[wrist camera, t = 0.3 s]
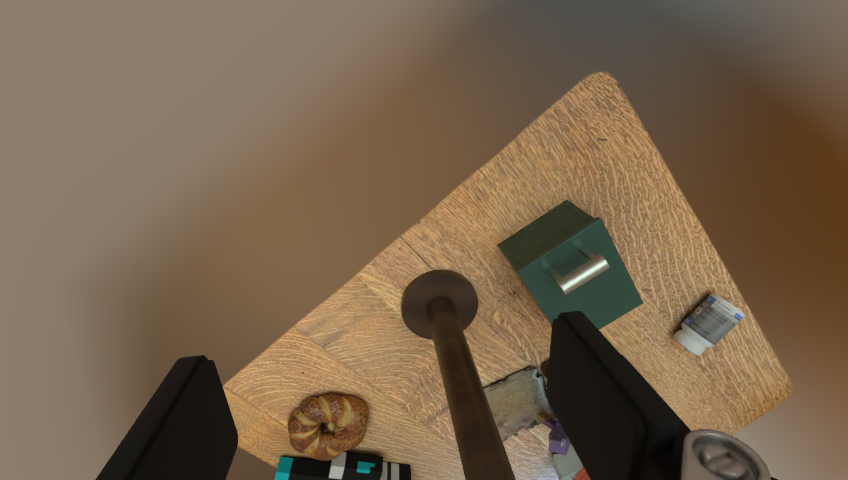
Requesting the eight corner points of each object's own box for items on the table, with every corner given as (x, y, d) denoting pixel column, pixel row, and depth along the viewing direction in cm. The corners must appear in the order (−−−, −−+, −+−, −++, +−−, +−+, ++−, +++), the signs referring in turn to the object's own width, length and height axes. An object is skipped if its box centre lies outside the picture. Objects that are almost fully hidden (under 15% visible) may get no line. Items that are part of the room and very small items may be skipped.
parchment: (537, 365, 57) (535, 360, 58) (457, 403, 58) (456, 398, 59) (562, 417, 62) (560, 411, 63) (489, 451, 63) (487, 446, 64)
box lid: (515, 269, 42) (532, 292, 38) (597, 216, 41) (625, 234, 37) (564, 344, 48) (585, 373, 43) (639, 299, 46) (668, 324, 42)
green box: (497, 244, 50) (518, 274, 43) (566, 199, 49) (600, 222, 42) (539, 308, 55) (564, 344, 48) (603, 269, 53) (639, 299, 46)
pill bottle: (710, 289, 55) (667, 333, 57) (745, 313, 52) (698, 358, 54) (714, 293, 59) (673, 335, 61) (747, 316, 56) (703, 358, 58)
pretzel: (348, 375, 55) (346, 395, 52) (384, 424, 59) (384, 445, 56) (273, 409, 56) (266, 431, 53) (314, 455, 60) (310, 478, 57)
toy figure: (530, 407, 55) (520, 444, 55) (592, 435, 51) (582, 476, 50) (549, 394, 65) (541, 425, 65) (602, 416, 61) (593, 450, 61)
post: (397, 274, 50) (425, 489, 24) (475, 265, 51) (581, 463, 25) (404, 338, 54) (435, 581, 28) (476, 329, 55) (568, 556, 29)
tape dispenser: (645, 458, 73) (641, 389, 63) (666, 487, 68) (665, 417, 59) (556, 493, 73) (538, 428, 63) (571, 524, 68) (554, 460, 58)
